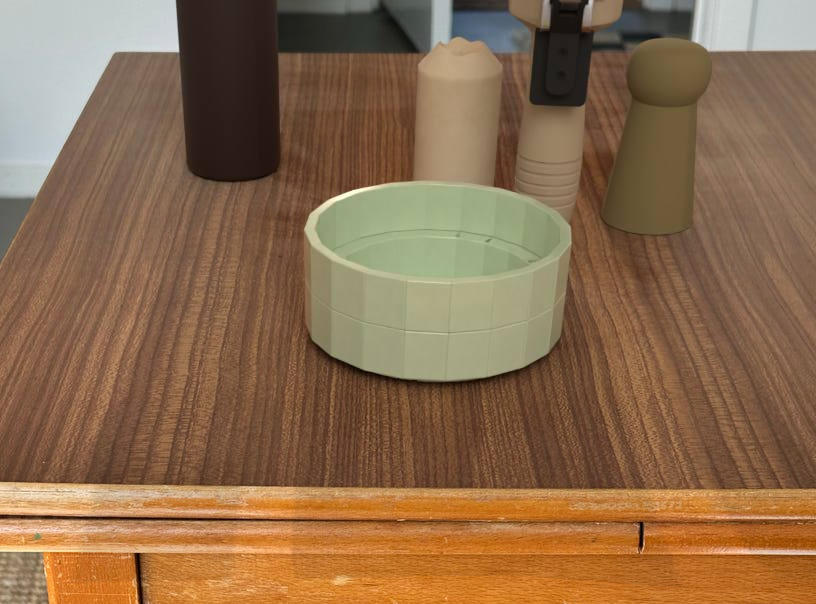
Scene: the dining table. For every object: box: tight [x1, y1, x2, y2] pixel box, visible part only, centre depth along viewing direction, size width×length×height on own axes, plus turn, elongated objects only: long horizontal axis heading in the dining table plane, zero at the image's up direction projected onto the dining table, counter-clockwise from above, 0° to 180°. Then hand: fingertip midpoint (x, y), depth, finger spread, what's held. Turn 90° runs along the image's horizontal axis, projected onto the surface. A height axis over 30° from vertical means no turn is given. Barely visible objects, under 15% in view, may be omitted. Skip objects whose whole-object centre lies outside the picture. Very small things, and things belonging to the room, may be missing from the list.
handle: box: [508, 0, 624, 225], centre depth 79 cm, size 5×6×15 cm
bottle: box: [175, 0, 282, 182], centre depth 89 cm, size 7×7×20 cm
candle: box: [412, 36, 504, 187], centre depth 88 cm, size 6×6×10 cm
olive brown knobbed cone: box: [600, 37, 713, 236], centre depth 85 cm, size 6×6×11 cm
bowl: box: [303, 180, 573, 383], centre depth 73 cm, size 14×14×6 cm
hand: (556, 85), depth 78 cm, fingers closed on handle, 5 cm apart
